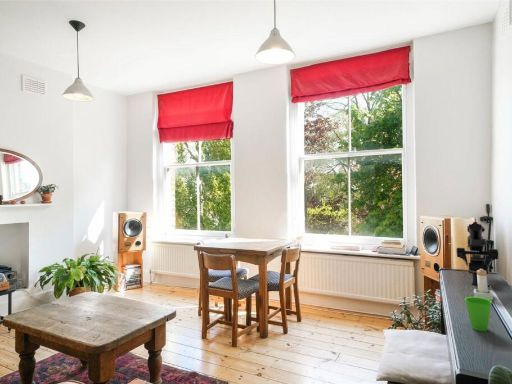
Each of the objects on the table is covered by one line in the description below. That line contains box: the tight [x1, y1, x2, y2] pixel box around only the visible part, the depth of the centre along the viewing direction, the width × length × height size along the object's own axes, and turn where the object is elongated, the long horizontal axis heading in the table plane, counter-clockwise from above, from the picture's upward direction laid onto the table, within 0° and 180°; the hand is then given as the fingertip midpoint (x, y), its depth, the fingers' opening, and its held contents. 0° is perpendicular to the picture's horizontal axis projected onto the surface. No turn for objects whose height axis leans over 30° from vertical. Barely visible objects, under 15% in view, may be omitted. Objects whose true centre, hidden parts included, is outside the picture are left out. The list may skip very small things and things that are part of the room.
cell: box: [477, 269, 489, 293], centre depth 165 cm, size 4×4×14 cm
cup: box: [464, 296, 493, 332], centre depth 129 cm, size 9×9×11 cm
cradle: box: [473, 288, 494, 302], centre depth 165 cm, size 8×8×3 cm
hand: (477, 266), depth 174 cm, fingers open, 9 cm apart
